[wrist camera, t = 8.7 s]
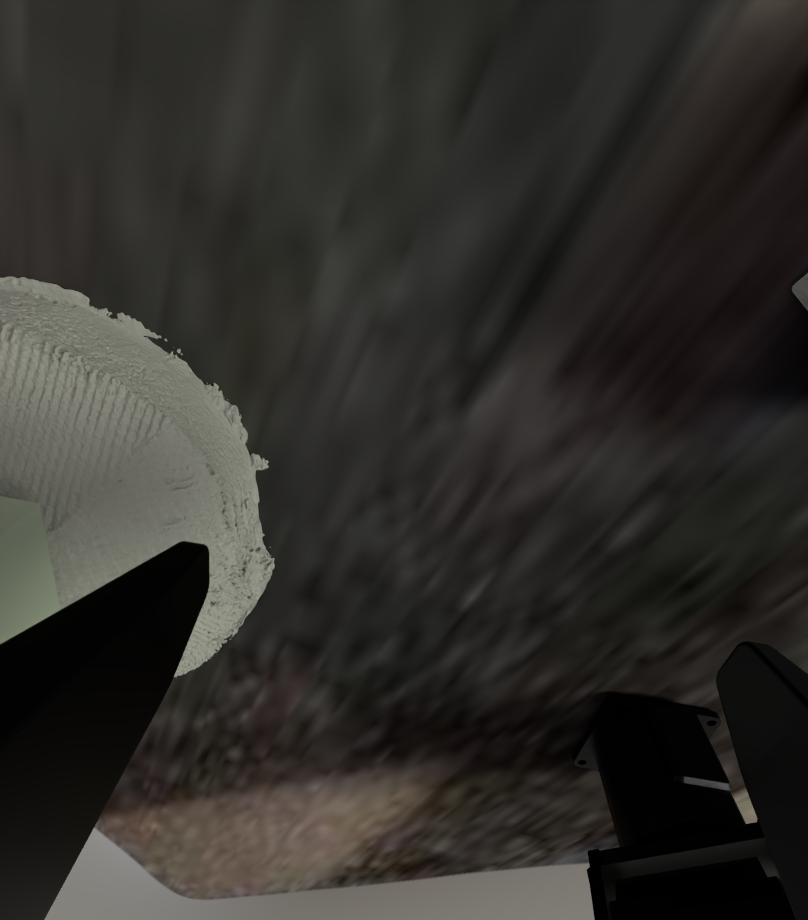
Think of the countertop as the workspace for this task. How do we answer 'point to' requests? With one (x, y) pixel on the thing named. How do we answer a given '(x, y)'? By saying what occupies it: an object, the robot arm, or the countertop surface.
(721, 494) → the countertop surface
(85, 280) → the countertop surface
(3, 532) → the crate
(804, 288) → the light bulb box
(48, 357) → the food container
